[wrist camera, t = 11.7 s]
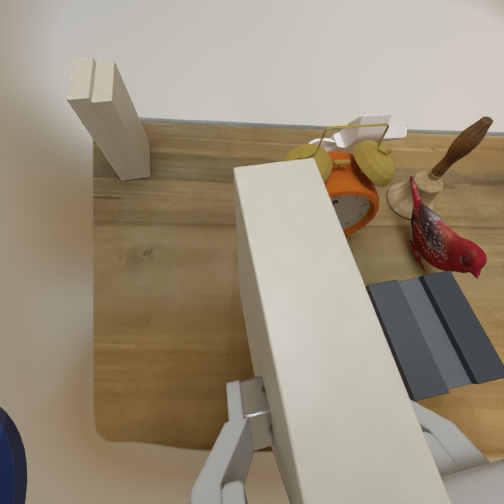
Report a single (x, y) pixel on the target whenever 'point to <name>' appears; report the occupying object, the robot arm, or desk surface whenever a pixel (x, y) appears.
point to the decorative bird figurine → (442, 241)
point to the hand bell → (436, 172)
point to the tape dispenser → (362, 133)
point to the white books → (110, 117)
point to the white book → (323, 350)
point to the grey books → (433, 335)
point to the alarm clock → (351, 177)
